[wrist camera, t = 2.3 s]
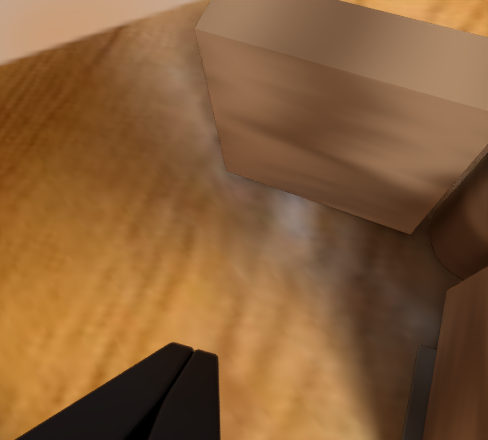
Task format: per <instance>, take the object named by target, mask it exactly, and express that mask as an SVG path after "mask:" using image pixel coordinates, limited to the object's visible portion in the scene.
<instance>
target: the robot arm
mask: <svg viewBox="0 0 488 440" xmlns="http://www.w3.org/2000/svg"><path fill="white" fill-rule="evenodd" d="M15 440H221V435H220V398H219V361H218V356H217V355H216V354H213V353H210V352H206V351H203V350H199V349H198V350H195V351H194V349H193V348H192V347H189V346H186V345H182V344H179V343H175V342H172V343H169V344H167V345H166V346H164V347H163V348H161V349H159V350H158V351H156V352H155V353H153V354H151V355H150V356H148V357H147V358H145V359H143V360H142V361H140V362H139V363H137V364H135V365H134V366H132V367H131V368H129V369H127V370H126V371H124V372H123V373H121V374H119V375H118V376H116V377H115V378H113V379H111V380H110V381H108V382H107V383H105V384H103V385H102V386H100V387H99V388H97V389H95V390H94V391H92V392H90V393H89V394H87V395H86V396H84V397H82V398H81V399H79V400H78V401H76V402H74V403H73V404H71V405H70V406H68V407H66V408H65V409H63V410H62V411H60V412H58V413H57V414H55V415H54V416H52V417H50V418H49V419H47V420H46V421H44V422H42V423H41V424H39V425H38V426H36V427H34V428H33V429H31V430H30V431H28V432H26V433H25V434H23V435H22V436H20V437H18V438H17V439H15Z"/></svg>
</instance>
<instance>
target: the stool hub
mask: <svg viewBox="0 0 488 440" xmlns="http://www.w3.org/2000/svg"><path fill="white" fill-rule="evenodd" d="M430 239H431V244H432V247H433V250H434V252H435V254H436V256H437V257H438V259H439V260H440V262H441V263H442V264H443V265H444V266H445V267H446V268H447V269H448V270H449V271H450V272H451V273H453V274H454V275H456V276H457V277H459V278H461V279H463V280H464V281H462V282H460V283H459V284H457V285H455V286H454V287H452V288H450V289H449V290H447V292H446V298H445V304H444V310H443V316H442V322H441V328H440V334H439V341H438V347H437V350H435V349H432V348H428V347H425V346H422V345H419V346H418V351H417V356H416V362H415V368H414V373H413V379H412V384H411V390H410V396H409V401H408V407H407V413H406V418H405V424H404V429H403V435H402V440H488V153H487V154H486V155H485V156H484V157H483V158H482V160H481V161H480V162H479V163H478V164H477V165H476V166H475V167H474V169H473V170H472V171H471V172H470V173H469V174H468V175H467V177H466V178H465V179H464V180H463V181H462V182H461V183H460V184H459V186H458V187H457V188H456V189H455V190H454V191H453V192H452V193H451V195H450V196H449V197H448V198H447V199H446V200H445V201H444V202H443V204H442V205H441V206H440V207H439V208H438V209H437V211H436V212H435V214H434V216H433V218H432V221H431V225H430Z"/></svg>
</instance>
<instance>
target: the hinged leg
mask: <svg viewBox="0 0 488 440" xmlns="http://www.w3.org/2000/svg"><path fill="white" fill-rule="evenodd" d="M195 33H196V38H197V42H198V47H199V51H200V55H201V60H202V64H203V69H204V73H205V78H206V82H207V87H208V91H209V95H210V100H211V104H212V109H213V113H214V118H215V122H216V127H217V131H218V135H219V140H220V144H221V149H222V153H223V158H224V162H225V167H226V171H229V172H232V173H234V174H237V175H240V176H243V177H246V178H249V179H252V180H255V181H257V182H260V183H263V184H266V185H269V186H272V187H275V188H278V189H281V190H283V191H286V192H289V193H292V194H295V195H298V196H301V197H304V198H306V199H309V200H312V201H315V202H318V203H321V204H324V205H327V206H329V207H332V208H335V209H338V210H341V211H344V212H347V213H350V214H352V215H355V216H358V217H361V218H364V219H367V220H370V221H373V222H375V223H378V224H381V225H384V226H387V227H390V228H393V229H396V230H398V231H401V232H404V233H407V234H411V233H412V232H413V231H414V230H415V228H416V227H417V226H418V225H419V224H420V223H421V221H422V220H423V219H424V218H425V217H426V215H427V214H428V213H429V212H430V211H431V210H432V208H433V207H434V206H435V205H436V204H437V203H438V201H439V200H440V199H441V198H442V197H443V196H444V194H445V193H446V192H447V191H448V190H449V189H450V187H451V186H452V185H453V184H454V183H455V182H456V180H457V179H458V178H459V177H460V176H461V175H462V173H463V172H464V171H465V170H466V169H467V168H468V166H469V165H470V164H471V163H472V162H473V161H474V159H475V158H476V157H477V156H478V155H479V154H480V152H481V151H482V150H483V149H484V148H485V147H486V145H487V144H488V37H484V36H480V35H476V34H472V33H468V32H464V31H460V30H456V29H452V28H448V27H444V26H440V25H436V24H432V23H428V22H424V21H420V20H416V19H412V18H408V17H404V16H400V15H396V14H392V13H388V12H384V11H380V10H375V9H371V8H367V7H363V6H359V5H355V4H351V3H347V2H343V1H339V0H211V1H210V3H209V4H208V6H207V8H206V10H205V11H204V13H203V15H202V16H201V18H200V20H199V22H198V23H197V25H196V27H195Z"/></svg>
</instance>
